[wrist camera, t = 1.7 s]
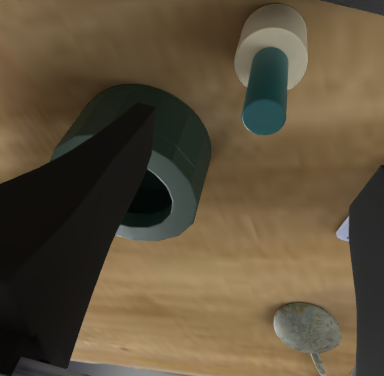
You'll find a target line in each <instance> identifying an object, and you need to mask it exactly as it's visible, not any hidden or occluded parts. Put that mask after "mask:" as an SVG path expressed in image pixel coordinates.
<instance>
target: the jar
mask: <svg viewBox="0 0 384 376" xmlns="http://www.w3.org/2000/svg"><path fill="white" fill-rule="evenodd" d="M137 102H138V103H142V104H146V105H150V106H154V107H156V113H155V124H154V134H153V145H152V155H151V158H150V161H149V164H148V167H147V169H146V172H145V175H144V178H143V180H142V182H141V184H140V186H139V188H138V190H137V192H136V194H135V196H134V198H133V200H132V202H131V204H130V206H129V208H128V210H127V212H126V214H125V216H124V218H123V220H122V222H121V224H120V226H119V228H118V230H117V232H116V234H115V235H116V236H120V237H124V238H128V239H131V240H137V241H160V240H164V239H167V238H171V237H174V236H178V235H180V234H181V233H182V232H184V231H185V230H186V229H187V228H188V227H189V226H190V225H192V224H193V222H194V219H195V215H196V211H197V207H198V204H199V200H200V196H201V192H202V188H203V185H204V181H205V177H206V173H207V169H208V165H209V162H210V158H211V144H210V139H209V136H208V133H207V131H206V129H205V127H204V125H203V123H202V122H201V120H200V119H199V117H198V116H197V115H196V114H195V113H194V111H193V110H192V109H190V108H189V107H188V106H187V105H186V104H185V103H183V102H182V101H181V100H179V99H178V98H176V97H174V96H173V95H171V94H169V93H167V92H165V91H162V90H160V89H157V88H153V87H150V86H145V85H136V84H127V85H119V86H114V87H111V88H109V89H106V90H104V91H103V92H101V93H99V94H98V95H97V96H96V97H94V99H93V100H92V101H91V102H89V103H88V104H87V105H86V107H85V108H84V110H83V111H82V112H81V114H80V115H79V116H78V118H77V119H76V120H75V122H74V123H73V125H72V126H71V127H70V129H69V130H68V131H67V133H66V134H65V136H64V137H63V138H62V140H61V141H60V142H59V144H58V145H57V146H56V148H55V150H54V153H53V155H52V158H51V160H50V162H51V161H53V160H55V159H56V158H58V157H60V156H62V155H63V154H65V153H67V152H69V151H70V150H72V149H73V148H75V147H77V146H78V145H80V144H81V143H83V142H84V141H86V140H87V139H89V138H90V137H92V136H93V135H95V134H96V133H97V132H99V131H100V130H102V129H103V128H104V127H106V126H107V125H109V124H110V123H111V122H112V121H114V120H115V119H116V118H118V117H119V116H120V115H121V114H123V113H124V112H125V111H126V110H128V109H129V108H130V107H131V106H133V105H134V104H136V103H137Z"/></svg>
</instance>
